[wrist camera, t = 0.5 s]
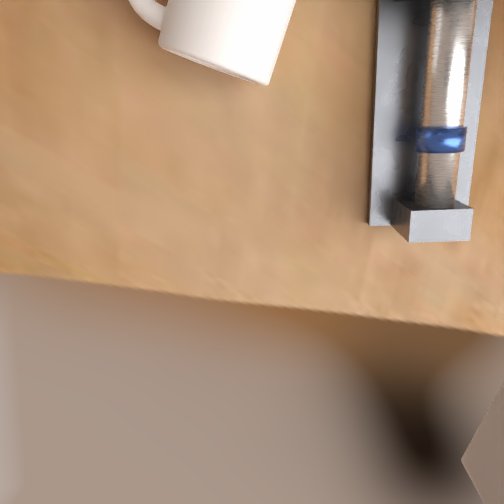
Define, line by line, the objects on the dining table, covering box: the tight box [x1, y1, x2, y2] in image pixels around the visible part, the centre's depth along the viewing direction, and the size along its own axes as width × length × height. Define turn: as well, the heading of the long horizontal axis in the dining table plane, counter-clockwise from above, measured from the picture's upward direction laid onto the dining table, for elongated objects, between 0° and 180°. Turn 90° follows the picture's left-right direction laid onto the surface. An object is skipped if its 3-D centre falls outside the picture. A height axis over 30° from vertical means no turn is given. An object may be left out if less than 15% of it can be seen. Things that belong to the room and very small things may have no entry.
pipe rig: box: [368, 0, 493, 243], centre depth 29 cm, size 24×8×6 cm, turn 3°
